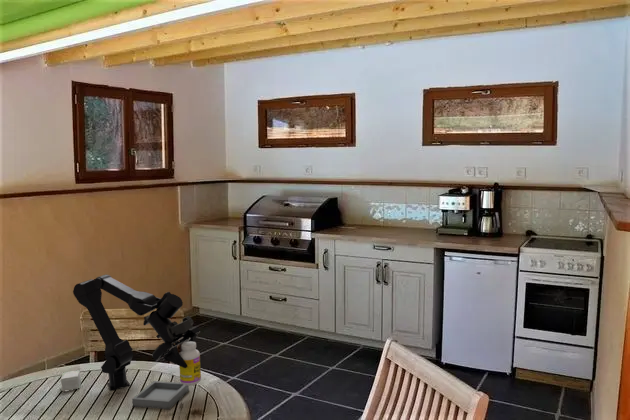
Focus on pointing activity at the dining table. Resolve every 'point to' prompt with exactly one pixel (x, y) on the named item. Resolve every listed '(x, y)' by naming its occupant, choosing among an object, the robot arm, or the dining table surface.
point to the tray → (160, 395)
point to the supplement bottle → (190, 364)
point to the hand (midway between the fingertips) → (193, 363)
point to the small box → (71, 380)
